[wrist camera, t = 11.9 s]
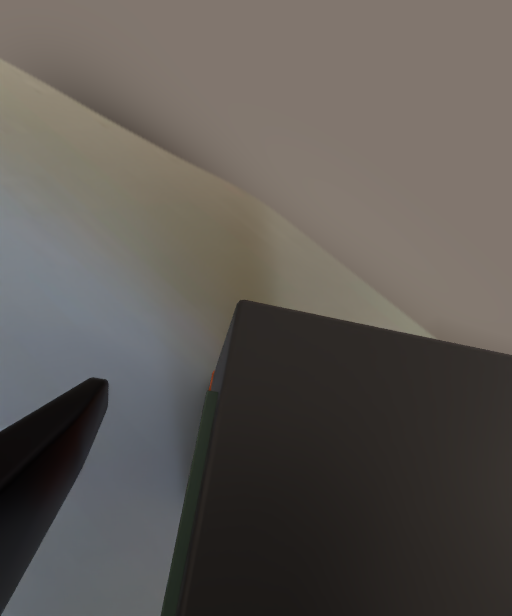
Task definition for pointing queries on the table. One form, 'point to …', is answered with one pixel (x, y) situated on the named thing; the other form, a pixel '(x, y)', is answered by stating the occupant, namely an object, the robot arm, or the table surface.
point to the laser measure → (347, 475)
